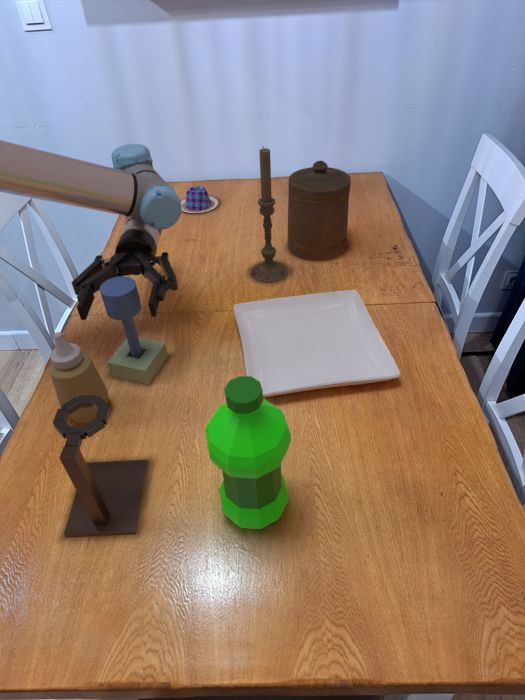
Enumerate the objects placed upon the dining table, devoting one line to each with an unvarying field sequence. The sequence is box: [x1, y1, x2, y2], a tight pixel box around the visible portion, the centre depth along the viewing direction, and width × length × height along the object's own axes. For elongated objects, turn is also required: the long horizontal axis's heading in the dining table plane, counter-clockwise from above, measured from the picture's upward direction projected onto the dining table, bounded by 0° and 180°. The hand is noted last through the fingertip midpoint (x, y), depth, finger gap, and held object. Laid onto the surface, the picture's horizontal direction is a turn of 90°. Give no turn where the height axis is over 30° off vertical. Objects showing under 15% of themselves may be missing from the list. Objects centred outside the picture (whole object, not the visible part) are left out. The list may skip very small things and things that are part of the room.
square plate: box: [232, 289, 402, 398], centre depth 95 cm, size 27×27×4 cm
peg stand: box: [52, 395, 150, 538], centre depth 68 cm, size 12×10×17 cm
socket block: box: [106, 337, 169, 385], centre depth 93 cm, size 8×8×4 cm
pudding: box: [180, 185, 219, 214], centre depth 145 cm, size 12×12×5 cm
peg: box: [99, 276, 143, 359], centre depth 88 cm, size 6×6×19 cm
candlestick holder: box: [250, 146, 289, 284], centre depth 108 cm, size 9×9×30 cm
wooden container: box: [287, 160, 352, 262], centre depth 119 cm, size 15×15×22 cm
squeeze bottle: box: [49, 331, 109, 425], centre depth 80 cm, size 8×8×18 cm
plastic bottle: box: [204, 375, 292, 530], centre depth 63 cm, size 10×10×25 cm
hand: (116, 312), depth 81 cm, fingers open, 11 cm apart
